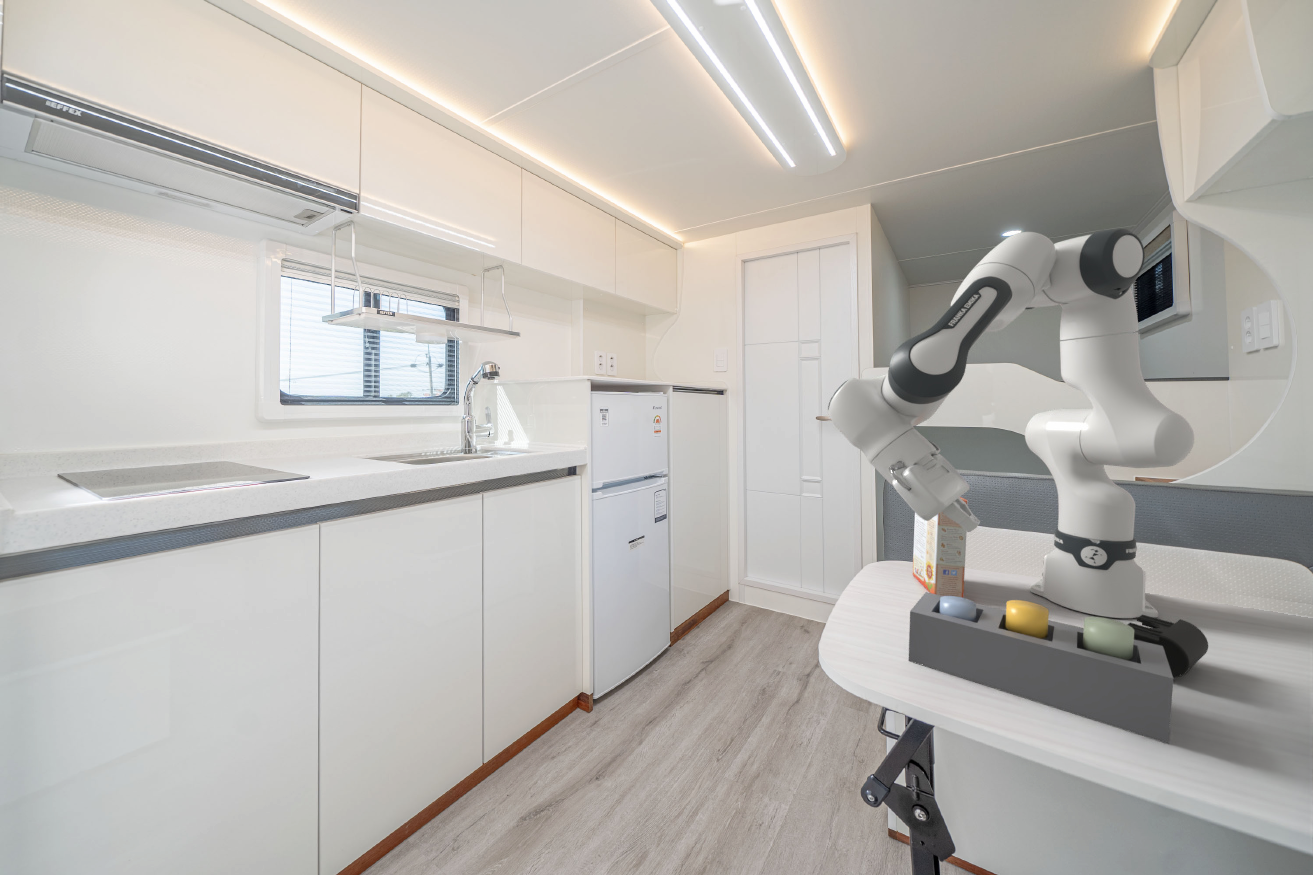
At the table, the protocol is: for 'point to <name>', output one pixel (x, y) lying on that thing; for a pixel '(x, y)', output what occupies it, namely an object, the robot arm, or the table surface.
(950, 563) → the cracker box
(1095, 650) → the sage button
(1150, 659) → the button console
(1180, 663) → the end cap
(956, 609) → the slate button
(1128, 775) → the table surface
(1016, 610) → the amber button
